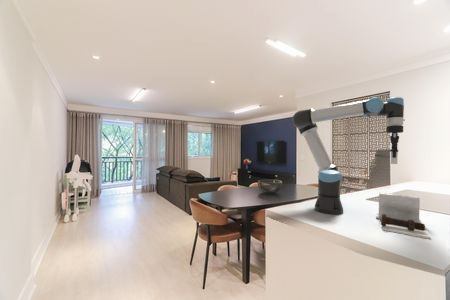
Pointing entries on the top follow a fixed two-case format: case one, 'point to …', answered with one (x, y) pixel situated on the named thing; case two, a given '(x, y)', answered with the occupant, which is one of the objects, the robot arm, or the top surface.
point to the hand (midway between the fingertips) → (394, 163)
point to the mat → (407, 231)
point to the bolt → (402, 223)
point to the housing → (399, 206)
